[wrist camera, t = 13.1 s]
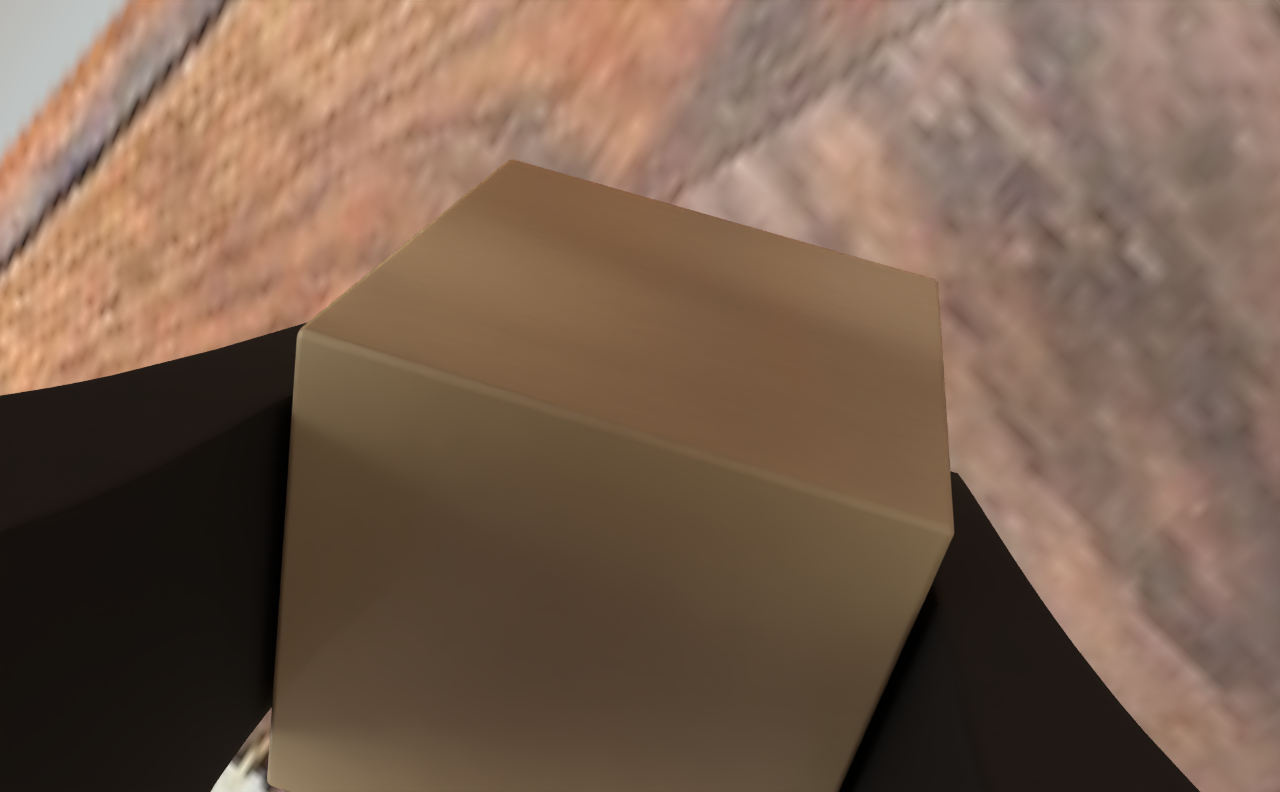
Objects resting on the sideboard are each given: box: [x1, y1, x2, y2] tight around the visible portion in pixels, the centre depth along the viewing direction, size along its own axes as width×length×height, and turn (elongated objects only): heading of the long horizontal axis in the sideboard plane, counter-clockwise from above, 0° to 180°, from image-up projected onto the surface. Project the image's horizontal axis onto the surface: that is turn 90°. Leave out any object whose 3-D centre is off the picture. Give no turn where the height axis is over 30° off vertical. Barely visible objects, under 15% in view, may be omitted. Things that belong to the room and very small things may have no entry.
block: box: [267, 160, 954, 792], centre depth 10 cm, size 4×4×4 cm
